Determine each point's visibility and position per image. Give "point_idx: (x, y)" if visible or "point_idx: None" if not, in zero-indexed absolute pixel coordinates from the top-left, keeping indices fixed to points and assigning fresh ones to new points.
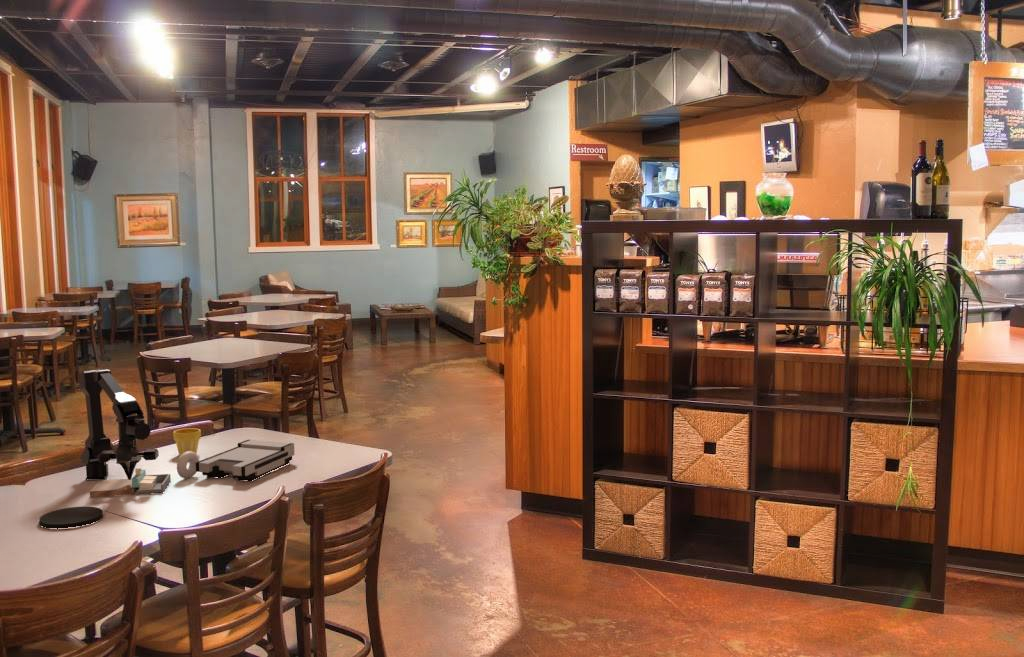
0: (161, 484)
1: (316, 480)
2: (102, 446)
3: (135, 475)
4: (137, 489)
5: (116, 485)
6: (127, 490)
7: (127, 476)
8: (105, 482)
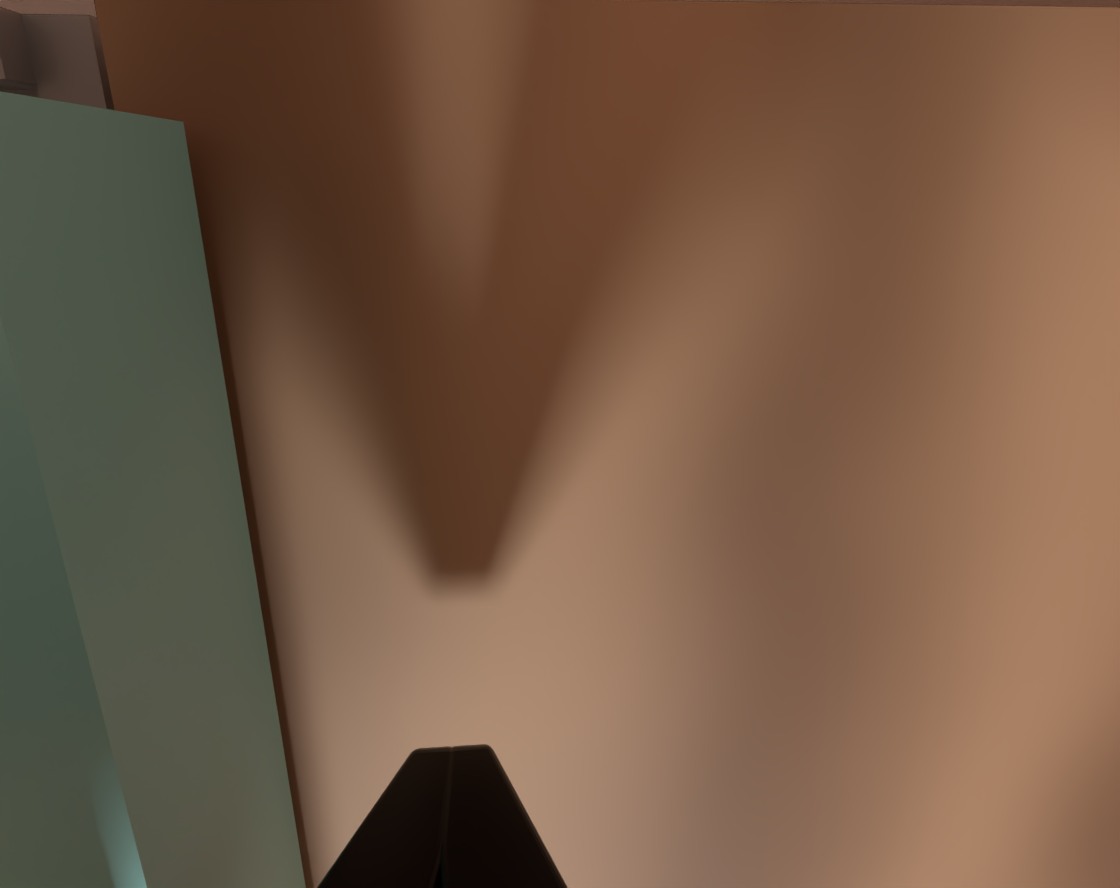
0: None
1: None
2: None
3: (81, 819)
4: None
5: (815, 577)
6: (345, 1)
7: (509, 827)
8: (1098, 851)
